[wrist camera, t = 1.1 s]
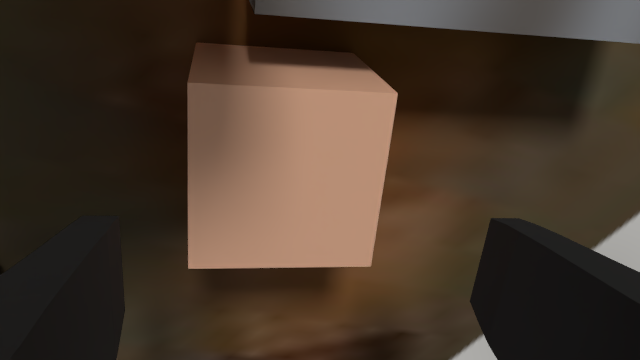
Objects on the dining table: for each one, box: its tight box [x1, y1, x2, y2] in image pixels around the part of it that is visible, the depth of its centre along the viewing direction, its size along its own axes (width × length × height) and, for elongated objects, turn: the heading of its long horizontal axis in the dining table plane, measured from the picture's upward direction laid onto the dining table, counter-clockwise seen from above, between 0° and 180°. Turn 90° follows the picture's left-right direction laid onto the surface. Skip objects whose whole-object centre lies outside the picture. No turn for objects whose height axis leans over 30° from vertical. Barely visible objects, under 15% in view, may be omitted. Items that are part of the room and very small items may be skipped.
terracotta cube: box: [187, 43, 398, 269], centre depth 16 cm, size 5×5×5 cm
